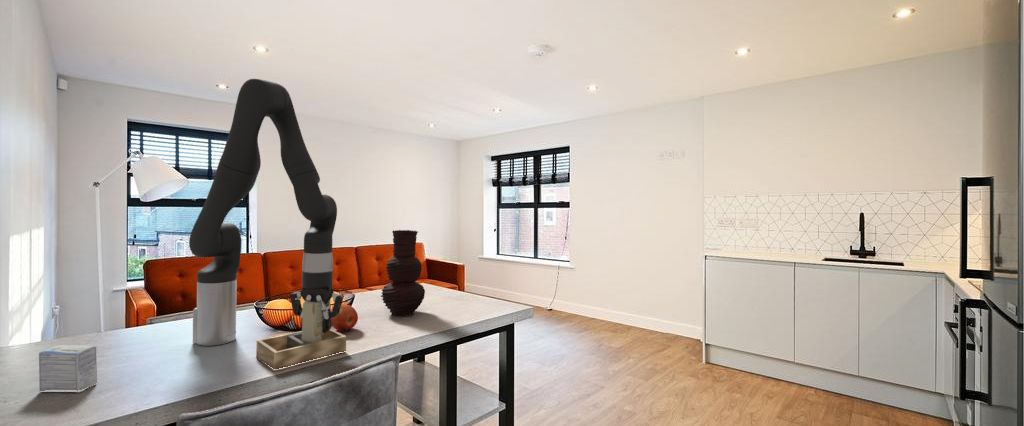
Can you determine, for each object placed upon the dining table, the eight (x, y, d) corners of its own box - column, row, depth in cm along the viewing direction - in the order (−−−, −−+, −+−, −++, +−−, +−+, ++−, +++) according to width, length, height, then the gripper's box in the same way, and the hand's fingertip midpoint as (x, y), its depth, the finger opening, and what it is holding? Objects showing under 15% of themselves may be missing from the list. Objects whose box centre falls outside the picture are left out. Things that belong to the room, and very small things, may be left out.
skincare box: (315, 350, 113) (316, 304, 113) (300, 348, 114) (301, 302, 114) (330, 342, 120) (331, 298, 119) (316, 340, 120) (317, 297, 120)
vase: (380, 308, 161) (382, 228, 160) (421, 307, 166) (424, 229, 165) (380, 320, 147) (382, 232, 145) (426, 318, 151) (429, 233, 150)
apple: (354, 325, 141) (354, 301, 141) (360, 332, 134) (361, 307, 134) (327, 328, 137) (328, 303, 136) (333, 336, 130) (333, 310, 129)
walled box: (274, 371, 103) (275, 352, 103) (256, 357, 111) (256, 340, 111) (345, 352, 117) (346, 336, 117) (324, 341, 125) (325, 326, 125)
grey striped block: (98, 384, 93) (97, 345, 93) (77, 394, 89) (77, 352, 89) (60, 383, 93) (60, 344, 93) (38, 393, 89) (37, 351, 88)
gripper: (283, 270, 112) (282, 334, 113) (338, 272, 112) (337, 337, 113) (297, 265, 120) (296, 326, 121) (349, 267, 120) (347, 328, 121)
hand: (316, 331), depth 117 cm, fingers closed on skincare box, 5 cm apart
